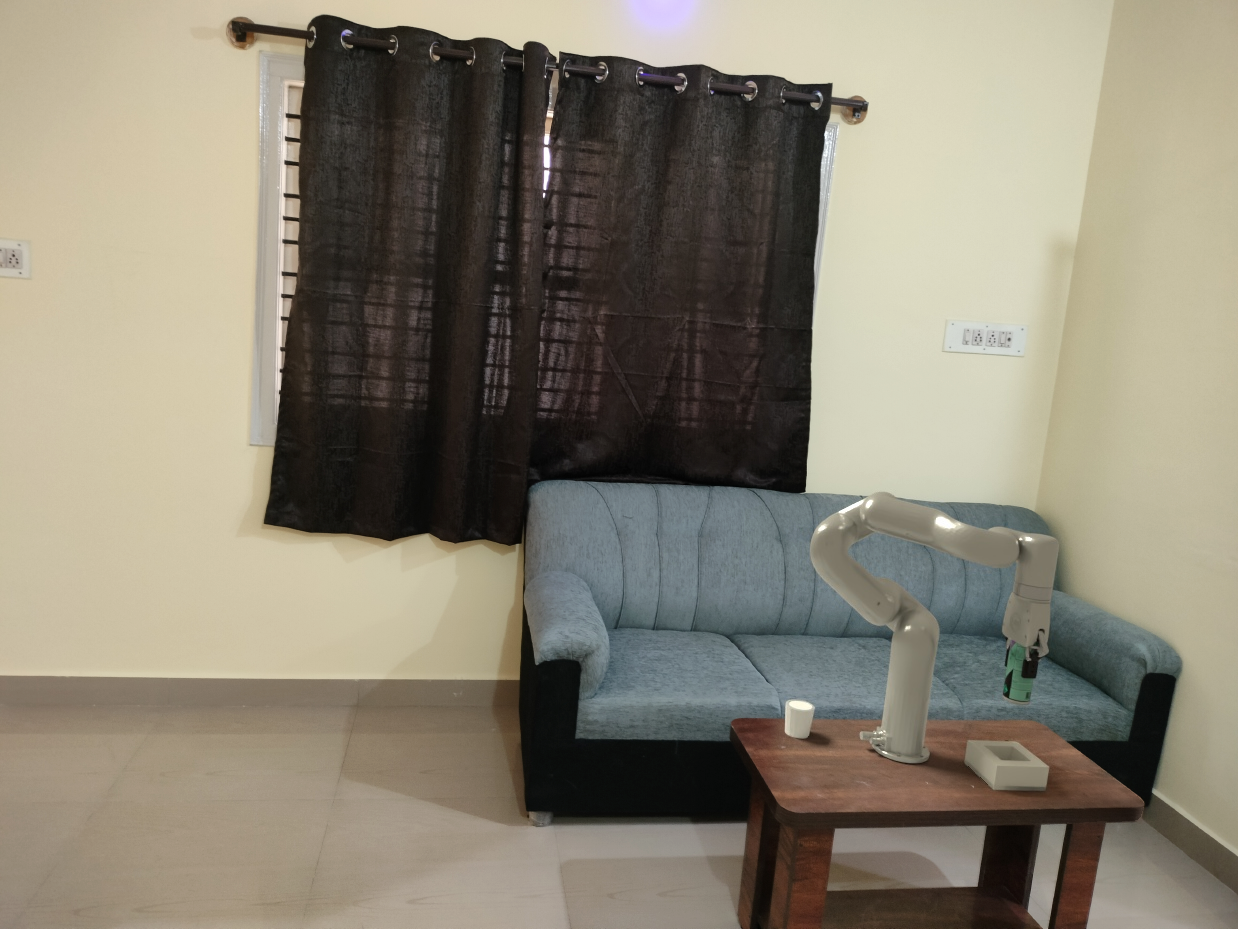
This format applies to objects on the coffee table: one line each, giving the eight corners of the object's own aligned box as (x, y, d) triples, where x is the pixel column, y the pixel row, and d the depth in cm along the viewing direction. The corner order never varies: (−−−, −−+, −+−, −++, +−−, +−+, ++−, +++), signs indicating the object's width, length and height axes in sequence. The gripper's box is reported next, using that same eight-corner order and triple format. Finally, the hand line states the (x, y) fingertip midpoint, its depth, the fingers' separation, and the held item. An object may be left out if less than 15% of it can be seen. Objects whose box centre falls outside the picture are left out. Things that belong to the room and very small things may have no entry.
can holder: (993, 790, 182) (997, 765, 182) (964, 763, 194) (967, 740, 193) (1045, 791, 184) (1049, 767, 183) (1013, 764, 196) (1016, 741, 195)
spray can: (1029, 699, 188) (1043, 611, 186) (1029, 707, 183) (1044, 617, 181) (1002, 693, 190) (1015, 606, 188) (1002, 701, 185) (1015, 611, 183)
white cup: (809, 728, 205) (813, 701, 204) (813, 741, 198) (817, 712, 198) (780, 725, 206) (784, 697, 205) (783, 737, 199) (787, 708, 198)
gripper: (993, 579, 192) (982, 657, 194) (1040, 602, 175) (1027, 687, 177) (1024, 581, 193) (1013, 659, 195) (1074, 604, 176) (1060, 688, 178)
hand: (1020, 671), depth 186 cm, fingers closed on spray can, 5 cm apart
